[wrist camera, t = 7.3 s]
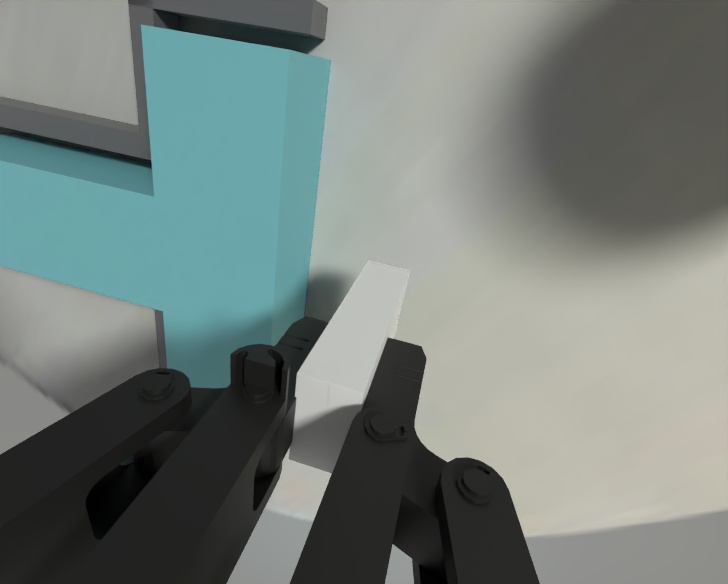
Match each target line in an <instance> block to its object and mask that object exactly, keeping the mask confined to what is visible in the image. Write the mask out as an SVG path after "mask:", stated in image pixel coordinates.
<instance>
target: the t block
mask: <svg viewBox="0 0 728 584" xmlns="http://www.w3.org/2000/svg"><path fill="white" fill-rule="evenodd" d="M141 32H142V45H143V58H144V71H145V84H146V97H147V110H148V123H149V137H150V150H151V163H152V165H151V164H146V163H142V162H137V161H133V160H128V159H124V158H120V157H115V156H111V155H106V154H102V153H97V152H93V151H88V150H84V149H79V148H75V147H70V146H66V145H62V144H57V143H53V142H48V141H44V140H39V139H35V138H30V137H26V136H21V135H17V134H0V266H3V267H7V268H10V269H14V270H17V271H21V272H24V273H28V274H32V275H35V276H39V277H42V278H46V279H49V280H53V281H57V282H60V283H64V284H67V285H71V286H74V287H78V288H82V289H85V290H89V291H92V292H96V293H99V294H103V295H106V296H110V297H114V298H117V299H121V300H124V301H128V302H131V303H135V304H139V305H142V306H146V307H149V308H153V309H156V310H160V311H163V319H164V332H165V345H166V358H167V368H169V369H175V370H178V371H181V372H183V373H184V374H185V375H186V376H187V377H188V378H189V381H190V385H191V387H195V388H226V387H228V386H229V385H230V384H231V378H230V354H231V353H233V352H234V351H236V350H237V349H238V348H241V347H244V346H247V345H252V344H266V345H272V346H275V345H276V344H278V341H279V340H280V339H281V337H282V336H283V335H284V334H285V332H286V331H287V330H288V328H289V327H290V326H291V325H292V323H294V322H296V321H298V320H300V319H302V318H304V313H305V303H306V294H307V284H308V275H309V265H310V256H311V246H312V236H313V227H314V217H315V208H316V198H317V188H318V179H319V169H320V160H321V150H322V140H323V131H324V121H325V112H326V102H327V92H328V83H329V73H330V64H331V60H327V59H324V58H320V57H316V56H312V55H308V54H304V53H300V52H297V51H293V50H288V49H283V48H277V47H271V46H265V45H259V44H253V43H247V42H241V41H235V40H229V39H223V38H218V37H212V36H206V35H200V34H194V33H188V32H182V31H176V30H170V29H164V28H159V27H153V26H147V25H141Z"/></svg>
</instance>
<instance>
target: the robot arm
mask: <svg viewBox="0 0 728 584" xmlns="http://www.w3.org/2000/svg"><path fill="white" fill-rule="evenodd" d="M409 273H410V270H407V269H403V268H399V267H395V266H391V265H387V264H382V263H378V262H374V261H370V260H368V262H367V263H366V265H365V266H364V268H363V270H362V271H361V273H360V274H359V276H358V277H357V279H356V281H355V282H354V284H353V285H352V287H351V289H350V290H349V292H348V293H347V295H346V296H345V298H344V300H343V301H342V303H341V304H340V306H339V308H338V309H337V311H336V312H335V314H334V315H333V317H332V319H331V320H330V322H329V323H328V322H324V321H321V320H317V319H313V318H310V317H304V318H302V319H300V320H298V321H296V322H294V323H292V325H291V326H290V327H289V328H288V330H287V331H286V332H285V334H284V335H283V336H282V337H281V339H280V340H279V341H278V344H276V345H275V346H272V345H266V344H252V345H247V346H244V347H241V348H238V349H237V350H236V351H234V352H233V353H231V354H230V378H231V384H230V385H229V386H228V387H226V388H195V387H191V385H190V381H189V378H188V377H187V376H186V375H185V374H184V373H183V372H181V371H178V370H175V369H169V368H158V369H153V370H148V371H145V372H143V373H141V374H138V375H136V376H134V377H133V378H131V379H129V380H127V381H126V382H124V383H122V384H121V385H119V386H117V387H115V388H114V389H112V390H110V391H109V392H107V393H105V394H103V395H102V396H100V397H98V398H97V399H95V400H93V401H91V402H90V403H88V404H86V405H85V406H83V407H81V408H79V409H78V410H76V411H74V412H73V413H71V414H69V415H67V416H66V417H64V418H62V419H61V420H59V421H57V422H55V423H54V424H52V425H50V426H49V427H47V428H45V429H43V430H42V431H40V432H38V433H37V434H35V435H33V436H31V437H30V438H28V439H26V440H25V441H23V442H21V443H19V444H18V445H16V446H14V447H13V448H11V449H9V450H7V451H6V452H4V453H2V454H1V455H0V584H226V583H227V581H228V579H229V577H230V575H231V573H232V571H233V569H234V567H235V565H236V563H237V561H238V559H239V558H240V556H241V553H242V552H243V550H244V547H245V545H246V544H247V542H248V540H249V537H250V536H251V533H252V532H253V530H254V528H255V526H256V524H257V522H258V520H259V518H260V515H261V514H262V512H263V510H264V508H265V506H266V504H267V502H268V500H269V498H270V496H271V494H272V492H273V490H274V488H275V486H276V484H277V482H278V480H279V478H280V474H281V470H282V460H283V458H284V457H285V455H286V453H287V451H288V449H289V447H290V453H289V459H290V460H293V461H296V462H299V463H302V464H305V465H309V466H312V467H315V468H318V469H321V470H324V471H327V472H330V473H332V475H331V477H330V480H329V483H328V485H327V488H326V491H325V493H324V496H323V498H322V501H321V504H320V506H319V509H318V511H317V514H316V517H315V519H314V522H313V524H312V527H311V530H310V532H309V535H308V537H307V540H306V543H305V545H304V548H303V551H302V553H301V556H300V558H299V561H298V564H297V566H296V569H295V572H294V574H293V577H292V579H291V582H290V584H385V579H386V574H387V569H388V564H389V559H390V554H391V548H392V544H394V545H395V546H397V547H398V548H399V549H400V550H402V551H403V552H404V553H406V554H407V555H408V556H410V557H411V558H412V562H413V575H414V584H540V583H539V580H538V577H537V574H536V571H535V568H534V565H533V562H532V559H531V556H530V553H529V550H528V547H527V544H526V541H525V538H524V535H523V532H522V529H521V526H520V523H519V520H518V517H517V514H516V511H515V507H514V504H513V501H512V498H511V495H510V492H509V490H508V488H507V486H506V484H505V482H504V480H503V478H502V477H501V476H500V475H499V474H498V473H497V472H496V471H495V470H494V469H493V468H492V467H490V466H488V465H486V464H485V463H483V462H481V461H479V460H475V459H472V458H468V457H467V458H455V459H454V460H452V461H450V462H446V461H444V460H443V459H441V458H440V457H438V456H436V455H435V454H433V453H432V452H431V451H429V450H428V449H427V448H426V447H425V446H424V445H423V444H422V443H421V441H420V440H419V438H418V436H417V435H416V431H415V428H414V420H415V415H416V410H417V405H418V400H419V395H420V389H421V384H422V379H423V374H424V369H425V364H426V356H425V354H424V352H423V349H422V347H421V346H418V345H414V344H411V343H407V342H403V341H399V340H396V339H394V337H395V334H396V330H397V325H398V321H399V317H400V312H401V308H402V303H403V299H404V295H405V290H406V286H407V281H408V277H409Z"/></svg>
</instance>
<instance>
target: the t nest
mask: <svg viewBox="0 0 728 584" xmlns="http://www.w3.org/2000/svg"><path fill="white" fill-rule="evenodd" d="M128 4H129V15H130V27H131V38H132V50H133V62H134V73H135V85H136V97H137V108H138V120H139V126H137V125H133V124H128V123H123V122H118V121H114V120H109V119H104V118H99V117H95V116H90V115H85V114H80V113H76V112H71V111H66V110H61V109H57V108H52V107H47V106H42V105H38V104H33V103H28V102H23V101H19V100H14V99H9V98H4V97H0V127H4V128H9V129H13V130H18V131H22V132H27V133H31V134H36V135H40V136H45V137H49V138H54V139H58V140H63V141H67V142H72V143H76V144H81V145H85V146H90V147H94V148H99V149H103V150H107V151H112V152H116V153H121V154H125V155H130V156H134V157H139V158H143V159H148V160H151V150H150V137H149V123H148V110H147V97H146V84H145V71H144V58H143V45H142V32H141V25H147V26H153V27H159V28H164V29H170V30H176V31H179V16H184V17H190V18H196V19H202V20H208V21H214V22H220V23H226V24H232V25H239V26H245V27H251V28H257V29H263V30H269V31H275V32H281V33H287V34H293V35H299V36H306V37H312V38H318V39H324V40H325V32H326V21H327V11H328V8H327V7H326V6H324V5H322V4H321V3H319V2H317V1H316V0H128ZM155 318H156V330H157V342H158V353H159V365H160V368H167V358H166V345H165V332H164V319H163V311H160V310H156V309H155Z"/></svg>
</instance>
